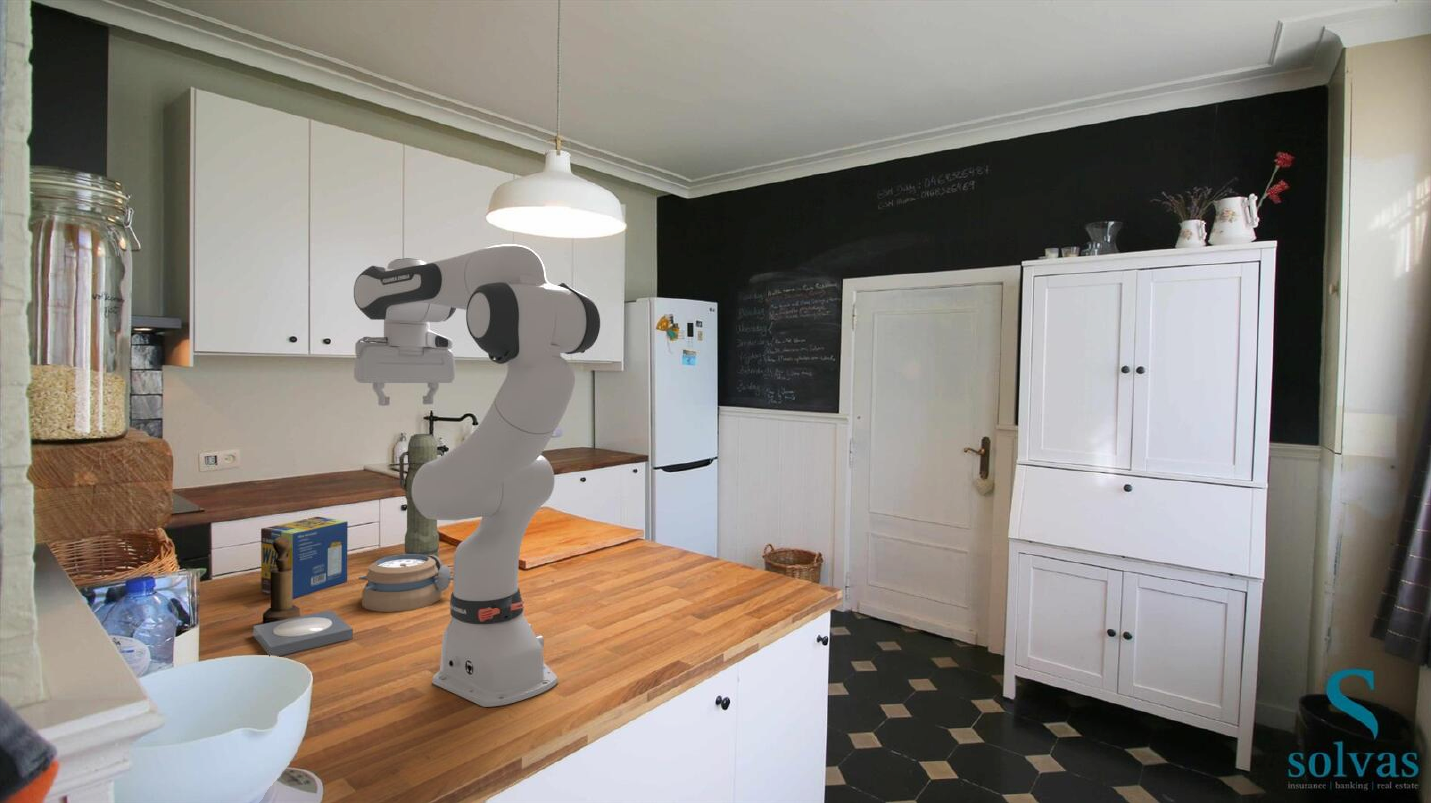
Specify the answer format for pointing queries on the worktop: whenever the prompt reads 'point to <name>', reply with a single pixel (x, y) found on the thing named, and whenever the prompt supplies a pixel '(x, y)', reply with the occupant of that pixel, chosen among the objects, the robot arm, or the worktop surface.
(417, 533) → the thermos
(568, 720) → the worktop surface
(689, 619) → the worktop surface
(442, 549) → the worktop surface
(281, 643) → the slate plate
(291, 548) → the protein box
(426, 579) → the alarm clock
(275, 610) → the brown tall post-shaped piece
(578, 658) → the worktop surface
